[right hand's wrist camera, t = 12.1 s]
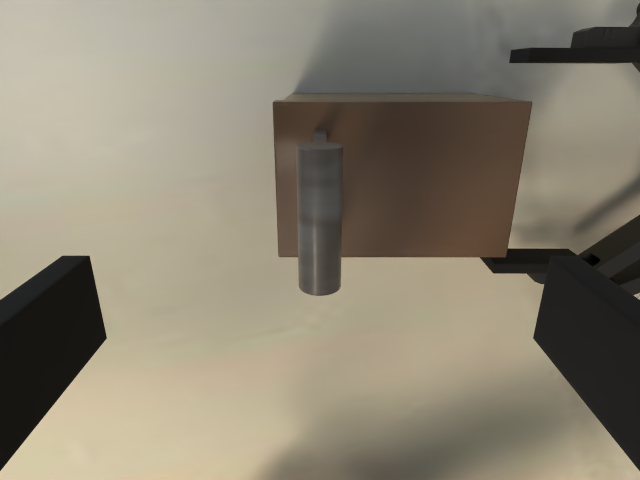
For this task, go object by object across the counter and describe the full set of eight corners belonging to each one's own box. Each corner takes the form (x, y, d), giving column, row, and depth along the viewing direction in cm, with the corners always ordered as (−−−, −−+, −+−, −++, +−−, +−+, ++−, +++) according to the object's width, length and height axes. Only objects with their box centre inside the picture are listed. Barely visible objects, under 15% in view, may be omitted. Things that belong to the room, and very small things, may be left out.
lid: (280, 249, 28) (263, 321, 20) (274, 100, 25) (252, 114, 17) (498, 249, 28) (570, 322, 20) (522, 100, 25) (621, 114, 17)
